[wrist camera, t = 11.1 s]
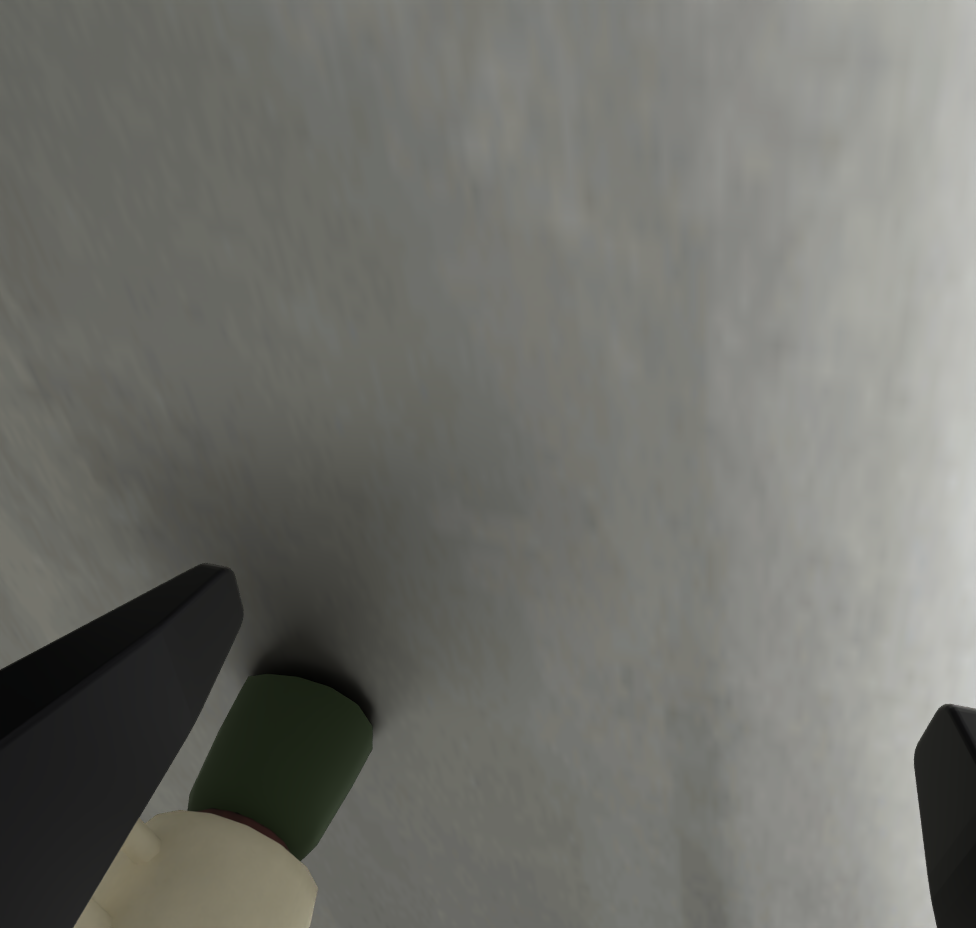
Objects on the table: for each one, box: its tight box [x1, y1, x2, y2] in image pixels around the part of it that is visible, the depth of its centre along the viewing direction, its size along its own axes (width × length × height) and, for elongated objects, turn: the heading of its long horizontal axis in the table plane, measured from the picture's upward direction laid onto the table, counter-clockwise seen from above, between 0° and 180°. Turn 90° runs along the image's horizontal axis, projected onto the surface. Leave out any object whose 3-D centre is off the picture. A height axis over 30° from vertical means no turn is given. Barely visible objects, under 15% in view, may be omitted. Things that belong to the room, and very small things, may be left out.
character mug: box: [74, 674, 373, 928], centre depth 25 cm, size 11×7×13 cm, turn 21°
